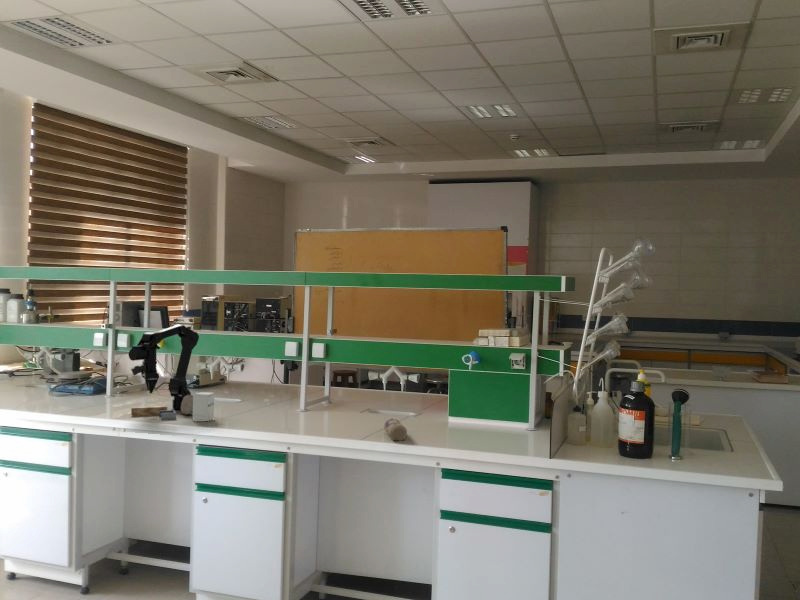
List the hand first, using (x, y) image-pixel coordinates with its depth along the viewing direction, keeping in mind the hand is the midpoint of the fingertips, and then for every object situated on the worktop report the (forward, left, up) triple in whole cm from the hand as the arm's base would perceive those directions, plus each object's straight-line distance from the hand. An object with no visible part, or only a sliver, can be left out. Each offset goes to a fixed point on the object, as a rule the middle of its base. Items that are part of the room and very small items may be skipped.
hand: (149, 391), depth 349 cm
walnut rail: (0, 0, -11) cm, 11 cm away
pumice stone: (-20, +7, -11) cm, 24 cm away
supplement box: (-21, +23, -11) cm, 33 cm away
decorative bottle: (-91, +83, -11) cm, 124 cm away
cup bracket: (-7, +12, -11) cm, 18 cm away
